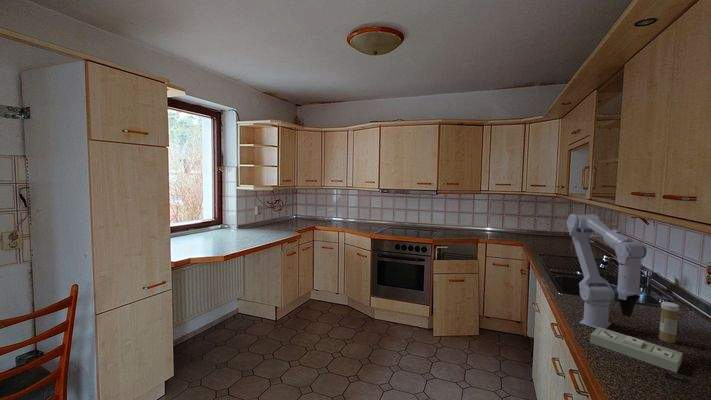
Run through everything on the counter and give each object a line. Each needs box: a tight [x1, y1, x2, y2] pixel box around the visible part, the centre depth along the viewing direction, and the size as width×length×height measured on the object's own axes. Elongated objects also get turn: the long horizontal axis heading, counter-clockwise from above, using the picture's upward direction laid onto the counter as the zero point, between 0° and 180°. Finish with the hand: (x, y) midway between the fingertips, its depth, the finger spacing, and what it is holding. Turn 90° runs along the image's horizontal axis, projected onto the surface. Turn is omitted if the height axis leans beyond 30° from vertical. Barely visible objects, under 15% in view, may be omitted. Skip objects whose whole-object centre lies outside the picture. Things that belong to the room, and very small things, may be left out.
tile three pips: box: [599, 331, 618, 340], centre depth 114 cm, size 4×4×2 cm
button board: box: [589, 327, 684, 374], centre depth 109 cm, size 9×22×3 cm, turn 38°
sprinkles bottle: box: [658, 301, 680, 344], centre depth 116 cm, size 5×5×14 cm
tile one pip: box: [624, 335, 645, 349], centre depth 109 cm, size 4×4×2 cm
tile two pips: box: [652, 347, 673, 358], centre depth 103 cm, size 4×4×2 cm
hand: (626, 315), depth 113 cm, fingers closed
